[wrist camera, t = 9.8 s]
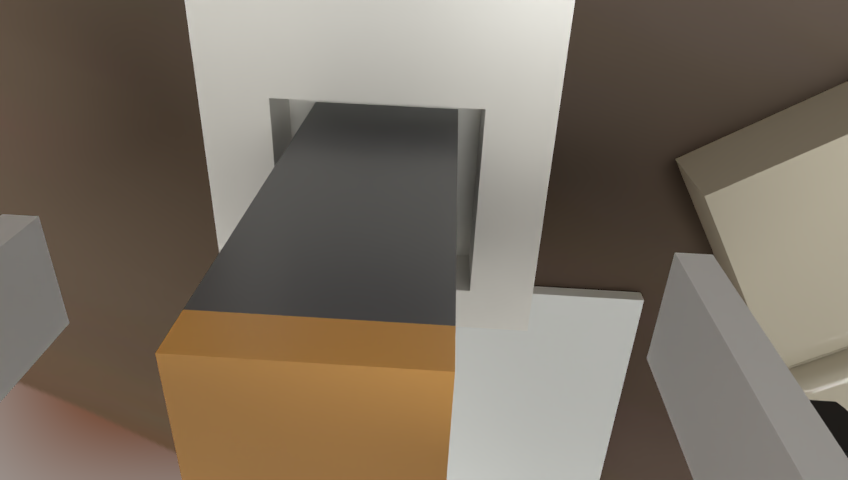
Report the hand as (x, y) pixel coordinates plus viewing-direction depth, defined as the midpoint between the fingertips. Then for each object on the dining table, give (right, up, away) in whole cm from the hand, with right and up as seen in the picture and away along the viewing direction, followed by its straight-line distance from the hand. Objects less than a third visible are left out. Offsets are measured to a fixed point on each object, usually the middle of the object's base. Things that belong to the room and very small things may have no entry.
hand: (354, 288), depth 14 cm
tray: (+4, -7, +13) cm, 15 cm away
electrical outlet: (+17, -2, +10) cm, 20 cm away
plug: (0, +3, +5) cm, 6 cm away
